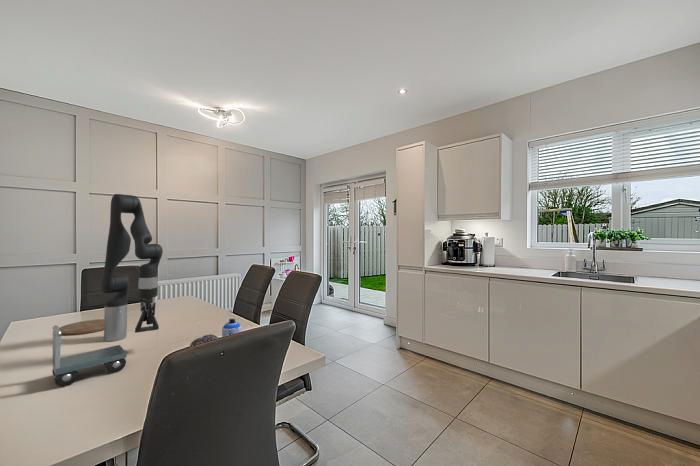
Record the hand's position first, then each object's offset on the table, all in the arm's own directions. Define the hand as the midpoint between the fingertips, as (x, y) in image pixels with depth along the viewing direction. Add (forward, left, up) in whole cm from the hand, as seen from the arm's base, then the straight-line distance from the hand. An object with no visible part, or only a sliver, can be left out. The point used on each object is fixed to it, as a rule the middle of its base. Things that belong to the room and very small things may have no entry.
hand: (147, 322), depth 135 cm
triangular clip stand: (0, 0, -3) cm, 3 cm away
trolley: (+10, -21, -13) cm, 27 cm away
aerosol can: (+45, +18, -14) cm, 51 cm away
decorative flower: (+31, +12, -14) cm, 36 cm away
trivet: (-63, -13, -14) cm, 66 cm away
